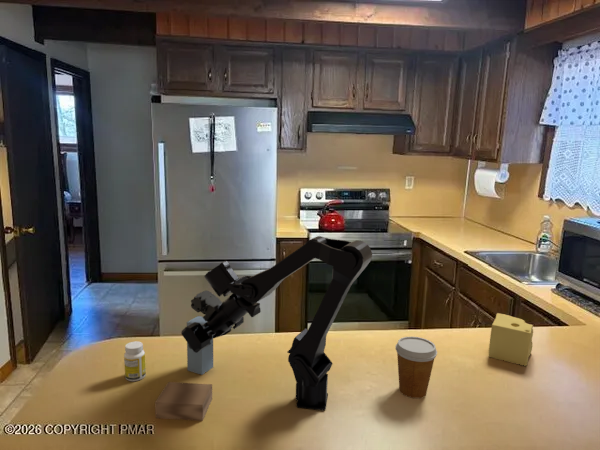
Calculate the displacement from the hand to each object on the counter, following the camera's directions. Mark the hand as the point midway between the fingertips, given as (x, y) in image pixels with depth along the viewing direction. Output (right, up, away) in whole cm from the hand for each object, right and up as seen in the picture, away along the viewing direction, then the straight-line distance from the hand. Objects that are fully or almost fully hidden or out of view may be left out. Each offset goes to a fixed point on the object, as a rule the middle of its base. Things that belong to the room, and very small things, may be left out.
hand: (195, 343), depth 114 cm
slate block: (+1, -7, +1) cm, 7 cm away
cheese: (+86, -7, +13) cm, 87 cm away
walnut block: (+1, -10, -16) cm, 19 cm away
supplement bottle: (-14, -7, -4) cm, 16 cm away
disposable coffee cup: (+53, -10, -7) cm, 55 cm away
